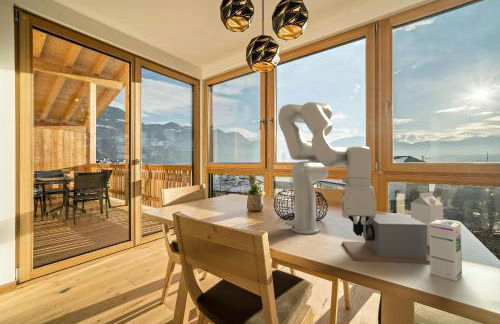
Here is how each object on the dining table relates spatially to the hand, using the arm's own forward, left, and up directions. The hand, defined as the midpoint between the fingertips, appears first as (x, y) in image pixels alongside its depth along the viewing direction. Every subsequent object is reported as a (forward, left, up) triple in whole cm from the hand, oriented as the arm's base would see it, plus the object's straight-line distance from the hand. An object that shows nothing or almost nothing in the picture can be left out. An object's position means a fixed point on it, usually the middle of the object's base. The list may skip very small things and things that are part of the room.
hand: (358, 234), depth 78 cm
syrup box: (+19, -13, -6) cm, 24 cm away
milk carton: (+28, +11, -6) cm, 31 cm away
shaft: (+12, 0, -2) cm, 12 cm away
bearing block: (+8, 0, -6) cm, 10 cm away
